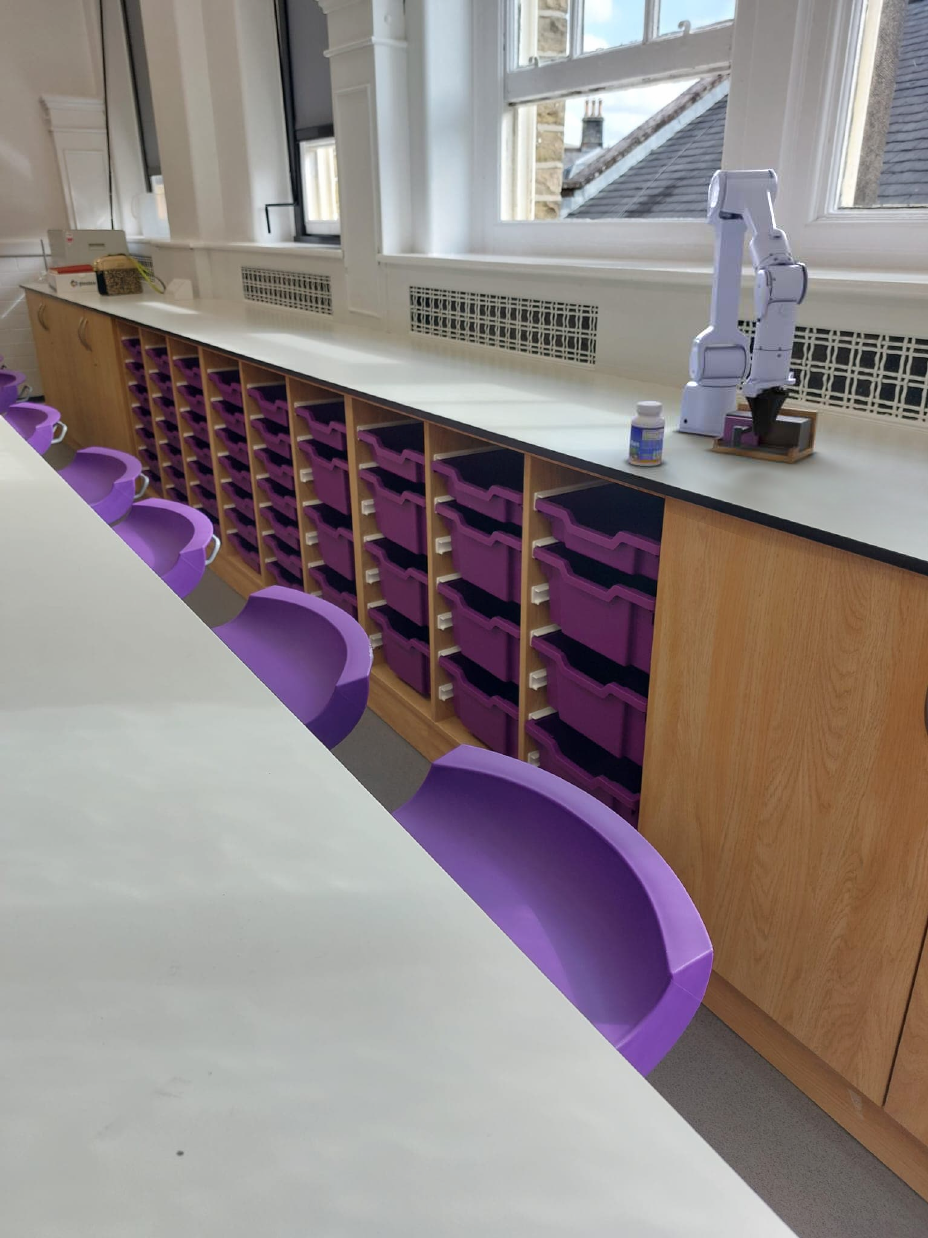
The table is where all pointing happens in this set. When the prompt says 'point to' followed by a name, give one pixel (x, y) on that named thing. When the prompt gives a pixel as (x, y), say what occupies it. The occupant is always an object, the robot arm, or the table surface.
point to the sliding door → (739, 431)
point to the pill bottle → (647, 434)
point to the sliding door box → (777, 436)
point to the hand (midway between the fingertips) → (762, 435)
